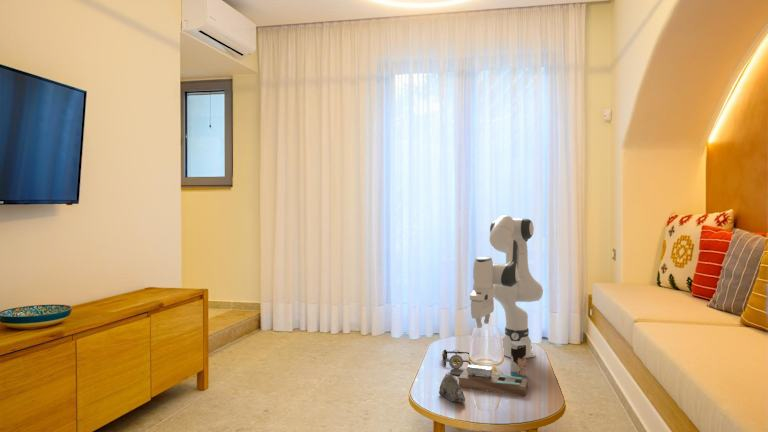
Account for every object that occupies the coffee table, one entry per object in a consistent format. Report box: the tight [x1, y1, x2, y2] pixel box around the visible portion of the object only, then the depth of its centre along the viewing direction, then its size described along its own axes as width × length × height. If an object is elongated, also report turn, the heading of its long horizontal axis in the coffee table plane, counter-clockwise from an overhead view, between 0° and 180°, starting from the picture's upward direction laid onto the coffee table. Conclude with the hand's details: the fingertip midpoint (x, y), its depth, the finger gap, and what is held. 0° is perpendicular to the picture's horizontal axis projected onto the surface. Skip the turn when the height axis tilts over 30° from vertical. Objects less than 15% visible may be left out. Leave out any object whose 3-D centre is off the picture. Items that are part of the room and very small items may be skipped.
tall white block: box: [467, 364, 493, 379], centre depth 217 cm, size 3×10×8 cm, turn 67°
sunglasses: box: [441, 349, 473, 366], centre depth 247 cm, size 14×15×5 cm
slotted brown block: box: [458, 369, 529, 397], centre depth 214 cm, size 10×28×4 cm, turn 67°
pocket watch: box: [448, 349, 465, 376], centre depth 233 cm, size 8×8×10 cm
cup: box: [510, 341, 527, 378], centre depth 229 cm, size 7×7×15 cm
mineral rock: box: [438, 373, 466, 404], centre depth 201 cm, size 13×11×10 cm
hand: (483, 325), depth 217 cm, fingers open, 8 cm apart
